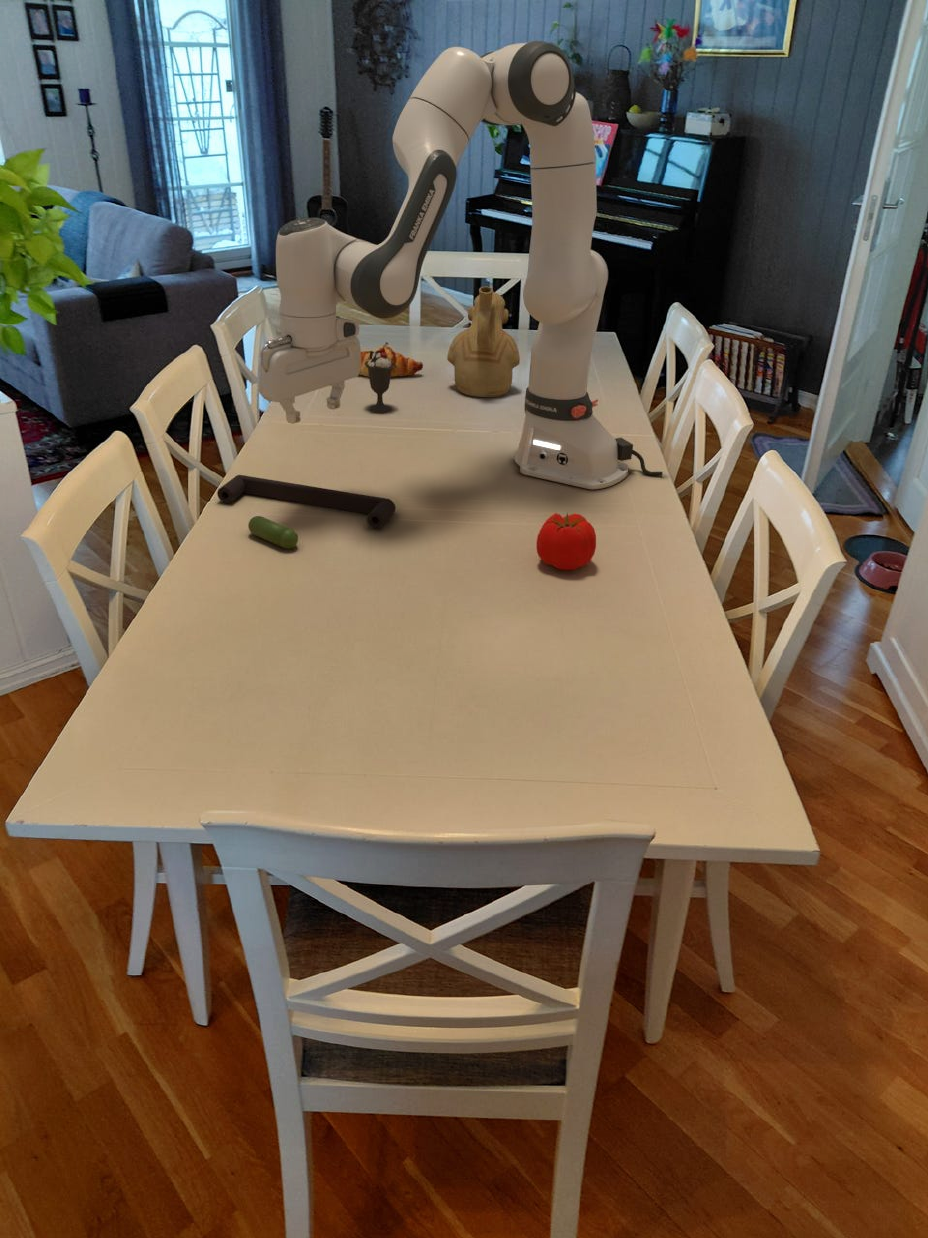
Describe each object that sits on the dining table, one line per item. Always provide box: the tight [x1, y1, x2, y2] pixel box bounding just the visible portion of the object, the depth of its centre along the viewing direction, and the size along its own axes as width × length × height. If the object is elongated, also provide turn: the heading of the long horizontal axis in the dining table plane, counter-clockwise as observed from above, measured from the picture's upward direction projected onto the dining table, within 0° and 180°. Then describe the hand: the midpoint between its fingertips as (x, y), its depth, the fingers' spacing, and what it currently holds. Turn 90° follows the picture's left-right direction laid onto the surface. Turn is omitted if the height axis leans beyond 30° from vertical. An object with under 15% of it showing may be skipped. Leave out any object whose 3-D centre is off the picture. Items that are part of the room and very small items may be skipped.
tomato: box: [535, 512, 597, 571], centre depth 145 cm, size 9×9×8 cm
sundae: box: [364, 341, 396, 414], centre depth 203 cm, size 7×7×15 cm
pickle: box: [247, 515, 299, 550], centre depth 149 cm, size 10×3×3 cm, turn 53°
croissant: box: [358, 345, 424, 378], centre depth 228 cm, size 21×10×8 cm, turn 87°
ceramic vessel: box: [446, 286, 521, 398], centre depth 215 cm, size 17×20×25 cm
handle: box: [216, 474, 396, 529], centre depth 160 cm, size 30×6×3 cm, turn 74°
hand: (314, 414), depth 155 cm, fingers open, 8 cm apart
